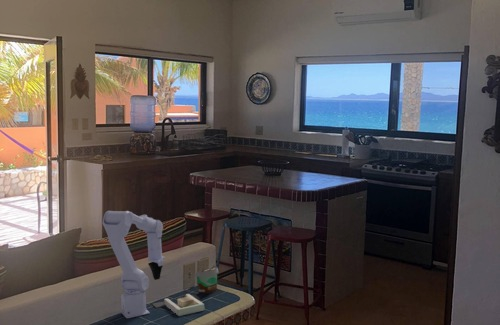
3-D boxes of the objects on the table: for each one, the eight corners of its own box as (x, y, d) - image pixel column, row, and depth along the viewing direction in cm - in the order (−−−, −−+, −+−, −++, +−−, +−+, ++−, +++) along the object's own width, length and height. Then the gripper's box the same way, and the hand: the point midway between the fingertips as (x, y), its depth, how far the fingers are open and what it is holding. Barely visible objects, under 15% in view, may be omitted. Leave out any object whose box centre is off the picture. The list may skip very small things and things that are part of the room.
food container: (207, 296, 233) (205, 273, 232) (196, 293, 237) (195, 271, 236) (225, 288, 243) (224, 266, 242) (215, 286, 246) (213, 264, 246)
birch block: (182, 311, 215) (182, 302, 215) (178, 308, 219) (177, 298, 219) (194, 309, 217) (193, 299, 217) (189, 305, 222) (188, 296, 221)
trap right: (190, 300, 228) (190, 300, 228) (185, 297, 232) (185, 296, 232) (200, 298, 230) (199, 297, 230) (195, 295, 235) (195, 294, 235)
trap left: (156, 308, 221) (156, 307, 221) (152, 304, 225) (151, 303, 225) (166, 305, 223) (166, 305, 223) (162, 302, 228) (162, 301, 228)
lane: (178, 316, 210) (178, 309, 209) (164, 304, 224) (164, 298, 224) (204, 310, 215) (204, 304, 215) (189, 299, 229) (188, 293, 229)
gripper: (169, 249, 224) (171, 281, 225) (158, 243, 237) (160, 273, 238) (153, 252, 221) (155, 284, 222) (142, 245, 233) (144, 276, 234)
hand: (156, 279), depth 229 cm, fingers closed
